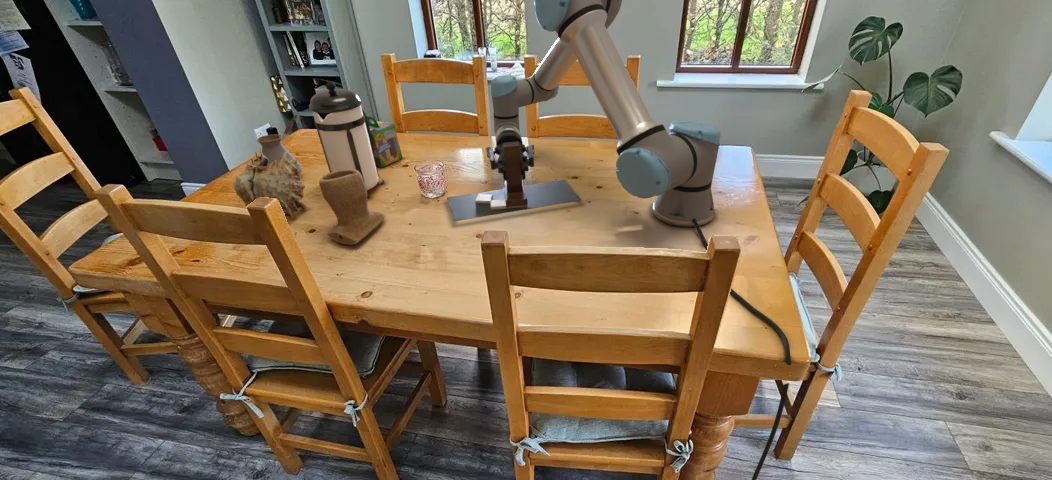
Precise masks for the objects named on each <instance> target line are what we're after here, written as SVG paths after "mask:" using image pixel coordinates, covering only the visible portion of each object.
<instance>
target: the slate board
mask: <svg viewBox="0 0 1052 480" xmlns="http://www.w3.org/2000/svg"><path fill="white" fill-rule="evenodd" d="M524 186H525V191H526V196H527V205H528V207H525V208H514V209H507V208H506V209H494V210H491V203H490V204H486V203H475V200H476V198H477V196H478V194H493V198H492V200H500V199H505V192H504V188H500V189H494V190H488V191H487V190H486V191H480V192H473V193H466V194H460V195H454V196H447V197H446V200H447V203H448V207H449V208H450V213H451V216H452V219H453V222H459V221H464V220H471V219H477V218H482V217H488V216H496V215H501V214H507V213H508V214H509V213H514V212H519V211H524V210H525V211H526V210H530V209H531V210H532V209H537V208H543V207H549V206H555V205H563V204H566V203H573V202H580V201H582V199H581V197H580V196H579V195H578V194H577V193H576V191H575V190H574V189H573V188H572V186H571V185H570V184H569V183H568V182H567V180H566V179H558V180H553V181H546V182H539V183H532V184H526V185H525V184H524Z"/></svg>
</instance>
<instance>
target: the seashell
mask: <svg viewBox="0 0 1052 480" xmlns="http://www.w3.org/2000/svg"><path fill="white" fill-rule="evenodd" d="M259 153H260V156H259V155H258V153H257V152H256V151H255V159H253V158H250V161H251V162H250V161H248V160H247V161H246V166H245V169H244V170H243V171H242V172H241V173H240V174H238V175H235V178H236V179H235V181H234V182H233V183H232V184H233V185H232V186H233V189H234V191H235V194H236V196H238V197H239V198H240V200H242V201H243V203H244V208H245V207H246V206H247V205H248V204H250V203H251V202H253V201H254V200H255V199H257V198H259V197H269V198H277V199H278V200H279V202H280V205H281V207H282V209H283V211H284V213H285V216H286V217H285V218H290V219H292V220H293V219H294V217H293V215H294V213H295V212H298V213H299V209H302V210H303V211H306V210H307V209H308V206H307V204H305V202H303V198H304V197H305V194H304V189H305V188H306V185H305V184H304V183H303V181H302V179H301V178H302V176H301V173H300V174H299V170H298V167H299V165H301V163H300V162H299V163H300V164H299V163H297V161H298V160H297V159H296V160H294V161H292V160H291V159H290V157H289V153H288V152H284V153H282V156H281V157H280V159H278V160H275V161H274V162H272V163H271V164H269V160H268V158H267V157H266V156H263V153H262V148H259ZM268 164H269V165H268Z"/></svg>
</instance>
